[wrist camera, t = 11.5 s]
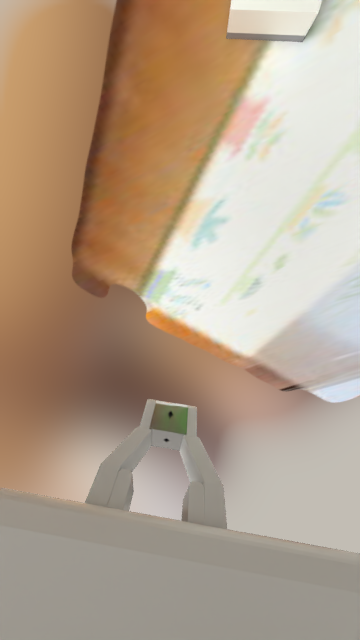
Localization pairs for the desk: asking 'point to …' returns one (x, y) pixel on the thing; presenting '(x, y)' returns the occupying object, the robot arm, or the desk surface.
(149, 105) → the desk surface
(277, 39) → the eraser
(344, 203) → the desk surface
